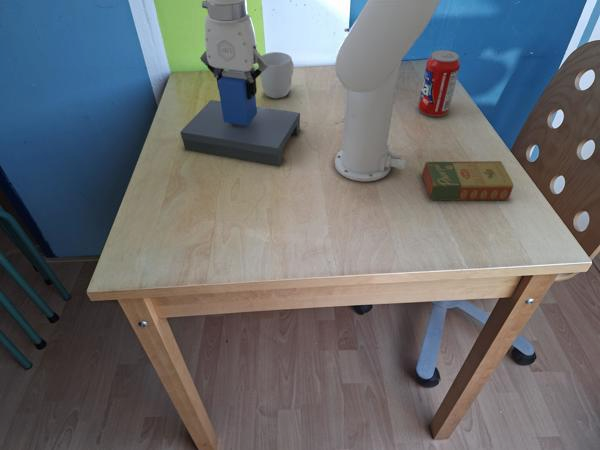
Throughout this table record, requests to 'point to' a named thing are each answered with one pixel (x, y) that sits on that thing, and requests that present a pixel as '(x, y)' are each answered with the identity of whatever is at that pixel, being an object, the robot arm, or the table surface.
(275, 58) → the mug
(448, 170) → the carton
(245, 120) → the blue milk carton
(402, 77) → the table surface
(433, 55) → the soda can
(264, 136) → the riser board
